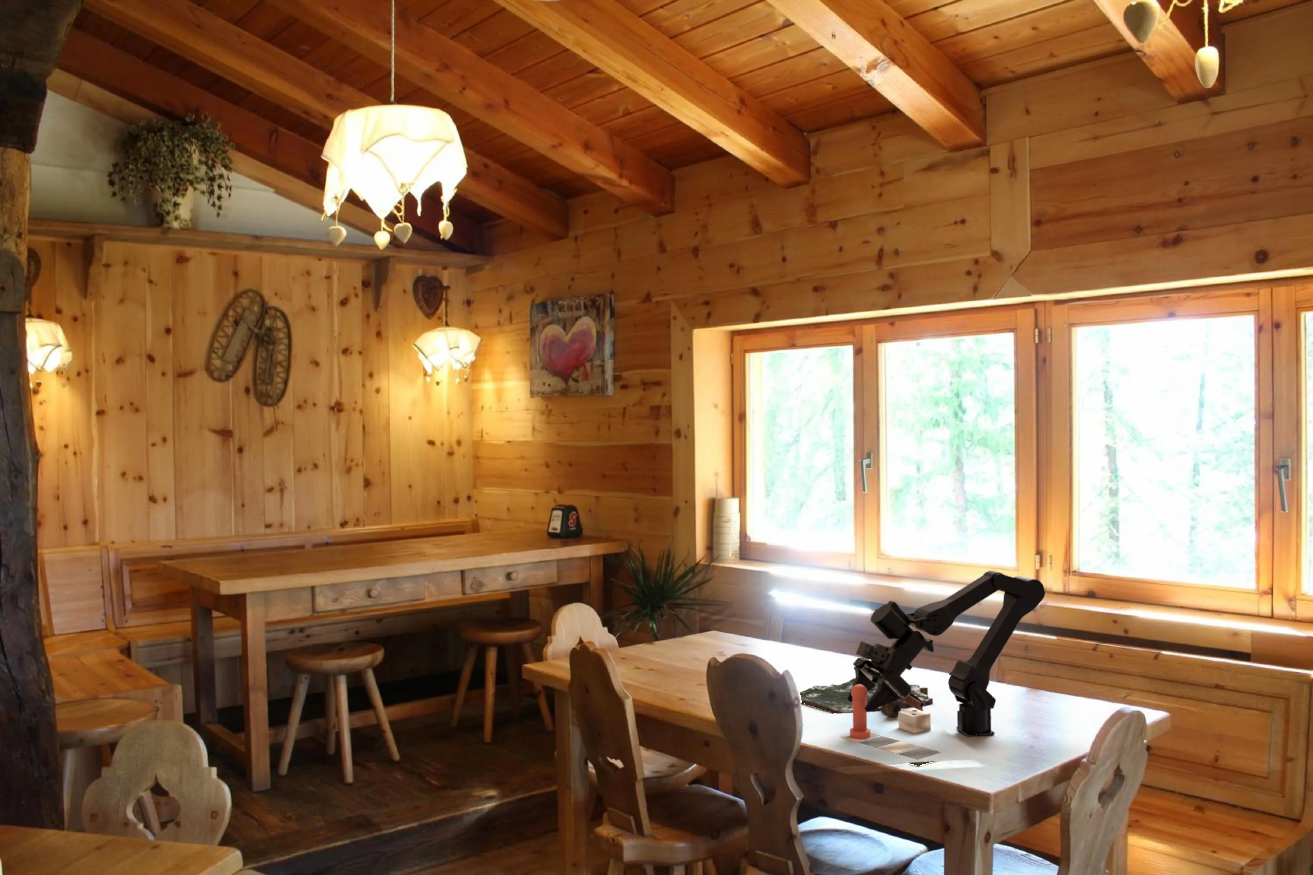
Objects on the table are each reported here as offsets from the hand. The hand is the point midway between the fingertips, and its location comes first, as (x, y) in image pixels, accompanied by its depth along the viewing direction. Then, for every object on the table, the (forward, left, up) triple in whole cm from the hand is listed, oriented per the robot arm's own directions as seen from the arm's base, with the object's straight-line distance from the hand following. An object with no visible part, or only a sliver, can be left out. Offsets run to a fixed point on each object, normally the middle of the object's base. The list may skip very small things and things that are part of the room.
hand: (857, 705), depth 230 cm
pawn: (-1, 0, -7) cm, 7 cm away
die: (-15, -4, -8) cm, 17 cm away
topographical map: (-15, -37, -9) cm, 41 cm away
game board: (-5, +7, -8) cm, 12 cm away
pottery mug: (-16, -17, -8) cm, 25 cm away
